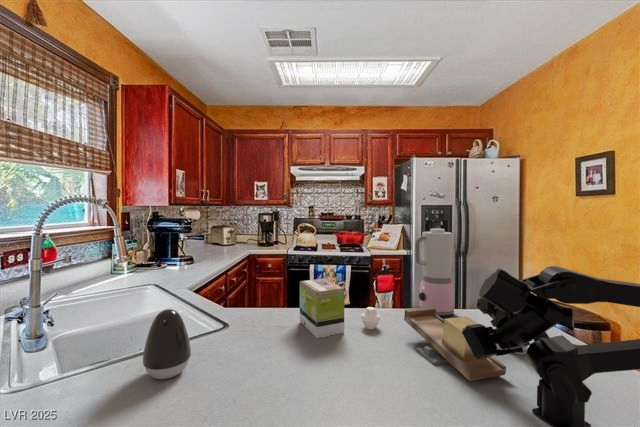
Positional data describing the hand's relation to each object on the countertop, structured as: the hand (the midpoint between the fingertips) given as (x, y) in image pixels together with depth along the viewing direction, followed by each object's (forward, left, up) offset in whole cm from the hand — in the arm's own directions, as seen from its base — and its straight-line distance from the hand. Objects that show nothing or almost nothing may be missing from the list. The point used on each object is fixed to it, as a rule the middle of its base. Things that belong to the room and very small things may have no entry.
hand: (484, 352), depth 72 cm
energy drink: (+10, -20, -7) cm, 24 cm away
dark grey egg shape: (+22, +71, -7) cm, 74 cm away
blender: (+43, -17, -7) cm, 47 cm away
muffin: (+36, +12, -7) cm, 38 cm away
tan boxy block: (+7, 0, -3) cm, 7 cm away
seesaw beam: (+13, 0, -3) cm, 13 cm away
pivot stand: (+13, 0, -6) cm, 14 cm away
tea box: (+40, +28, -7) cm, 49 cm away
